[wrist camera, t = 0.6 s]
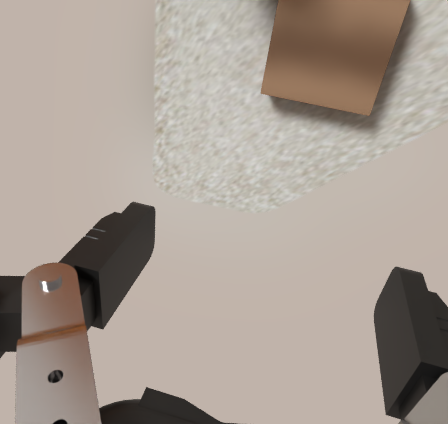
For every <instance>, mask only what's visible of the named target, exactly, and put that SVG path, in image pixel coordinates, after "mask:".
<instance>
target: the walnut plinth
mask: <svg viewBox="0 0 448 424" xmlns="http://www.w3.org/2000/svg"><path fill="white" fill-rule="evenodd" d="M409 3H410V0H278V5H277V10H276V15H275V21H274V26H273V31H272V36H271V41H270V47H269V52H268V57H267V62H266V67H265V73H264V78H263V83H262V88H261V94H265V95H270V96H275V97H280V98H285V99H289V100H294V101H299V102H304V103H309V104H314V105H318V106H323V107H328V108H333V109H338V110H343V111H348V112H352V113H357V114H362V115H367V116H370V113H371V111H372V108H373V105H374V102H375V99H376V96H377V93H378V91H379V88H380V85H381V82H382V79H383V76H384V74H385V71H386V68H387V65H388V62H389V59H390V57H391V54H392V51H393V48H394V45H395V42H396V40H397V37H398V34H399V31H400V28H401V25H402V23H403V20H404V17H405V14H406V11H407V8H408V6H409Z"/></svg>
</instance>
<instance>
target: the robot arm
mask: <svg viewBox="0 0 448 424" xmlns="http://www.w3.org/2000/svg"><path fill="white" fill-rule="evenodd" d="M154 242H155V208H154V207H153V206H149V205H144V204H140V203H136V202H132V203H130V205H129V206H128V207H127V208H126V209H125V210H124V211H123V212H122V213H117V212H114V213H112V214H110V215H108V216H106V217H104V218H102V219H101V220H100V221H99V222H98V223H97V224H96V225H95V226H94V227H93V229H91V230H90V231H89V232H88V233H87V234H86V236H85V237H83V238H82V239H81V240H80V241H79V242H78V243H77V244H76V245H75V246H74V247H73V248H72V249H71V250H70V251H69V252H68V253H67V254H66V255H65V256H64V257H63V258H62V259H61V261H59V262H58V263H48V264H43V265H41V266H38V267H36V268H34V269H33V270H31V271H30V272H28V273H27V274H26V276H0V358H1V357H2V355H3V354H4V353H5V352H10V351H11V352H17V357H16V405H15V406H16V407H15V408H16V409H15V424H234V423H223V422H220V421H218V420H216V419H215V418H213V417H212V416H210V415H208V414H207V413H205V412H204V411H202V410H201V409H199V408H197V407H196V406H194V405H193V404H191V403H189V402H188V401H186V400H185V399H182V398H179V397H176V396H173V395H169V394H166V393H163V392H160V391H156V390H154V389H150V388H147V387H146V389H145V391H144V394H143V396H142V398H141V399H133V400H123V401H119V402H114V403H111V404H108V405H106V406H103V407H101V408H99V405H98V399H97V393H96V386H95V380H94V373H93V367H92V361H91V354H90V349H89V342H88V335H87V331H88V329H89V328H90V327H91V326H93V327H97V328H100V329H104V327H105V326H106V324H107V323H108V321H109V320H110V318H111V317H112V315H113V314H114V312H115V311H116V309H117V307H118V306H119V305H120V303H121V302H122V300H123V298H124V297H125V295H126V294H127V292H128V291H129V289H130V288H131V286H132V285H133V283H134V282H135V280H136V279H137V277H138V276H139V274H140V273H141V271H142V270H143V268H144V267H145V265H146V264H147V262H148V261H149V259H150V257H151V254H152V252H153V248H154ZM374 324H375V332H376V340H377V348H378V356H379V364H380V372H381V380H382V387H383V396H384V402H385V411H386V415H389V416H392V417H395V418H398V419H401V421H400V422H399V423H398V424H448V307H447V306H446V304H445V303H444V302H443V301H442V300H441V298H440V297H439V296H438V295H437V293H434V292H430V291H428V289H427V286H426V283H425V280H424V277H423V274H422V273H420V272H416V271H412V270H408V269H404V268H400V267H395V268H394V269H393V270H392V272H391V274H390V276H389V278H388V280H387V282H386V284H385V286H384V288H383V290H382V292H381V294H380V296H379V298H378V300H377V303H376V306H375V311H374ZM235 424H236V423H235Z"/></svg>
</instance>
